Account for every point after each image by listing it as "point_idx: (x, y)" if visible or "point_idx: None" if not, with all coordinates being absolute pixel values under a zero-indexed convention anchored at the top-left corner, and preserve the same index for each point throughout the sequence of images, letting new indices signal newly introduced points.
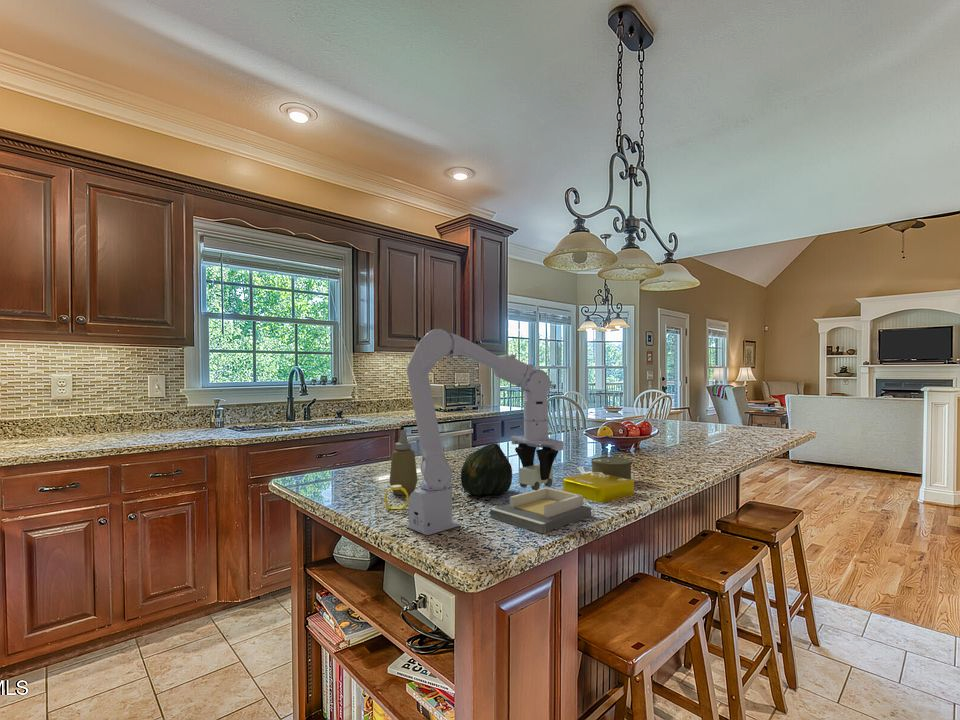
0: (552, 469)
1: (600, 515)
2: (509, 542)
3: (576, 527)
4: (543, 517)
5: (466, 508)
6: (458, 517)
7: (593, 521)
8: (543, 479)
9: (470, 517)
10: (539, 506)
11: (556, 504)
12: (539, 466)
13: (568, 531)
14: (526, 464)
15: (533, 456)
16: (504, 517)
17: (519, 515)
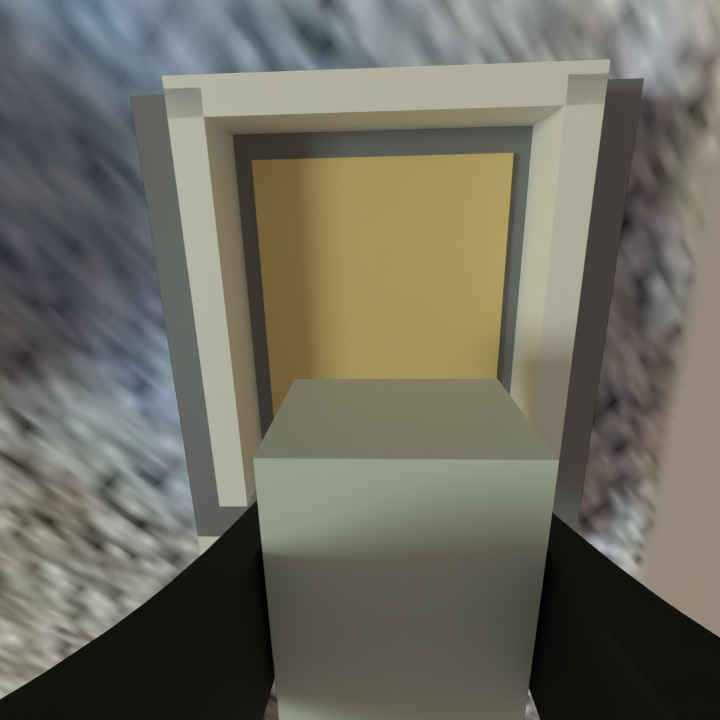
0: (539, 440)
1: (656, 27)
2: None
3: (637, 350)
4: None
5: (17, 509)
6: (126, 611)
7: (671, 187)
8: None
9: (157, 580)
10: (362, 354)
11: (561, 421)
12: (396, 576)
13: (632, 425)
14: (258, 697)
15: (201, 673)
16: None
17: None
